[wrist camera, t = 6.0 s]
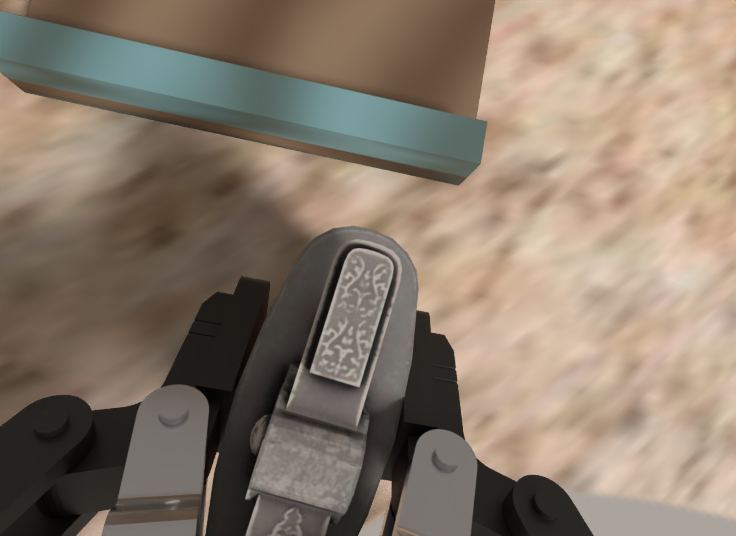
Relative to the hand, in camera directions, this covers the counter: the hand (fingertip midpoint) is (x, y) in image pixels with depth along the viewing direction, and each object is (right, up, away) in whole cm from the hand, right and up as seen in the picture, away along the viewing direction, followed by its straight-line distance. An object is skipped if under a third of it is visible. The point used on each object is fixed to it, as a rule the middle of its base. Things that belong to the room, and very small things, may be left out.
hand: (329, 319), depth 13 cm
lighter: (-1, -2, +4) cm, 5 cm away
